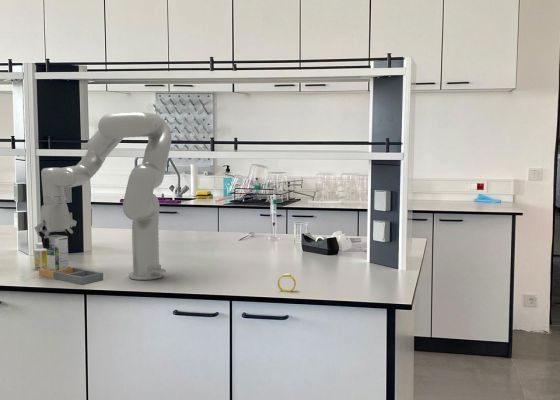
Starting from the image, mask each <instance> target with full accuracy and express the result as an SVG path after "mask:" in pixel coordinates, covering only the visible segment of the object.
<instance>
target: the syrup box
mask: <svg viewBox="0 0 560 400" xmlns="http://www.w3.org/2000/svg"><path fill="white" fill-rule="evenodd" d="M47 238H49V245H50V248H49V249H46V252H47V270H51V271H57V270H62V269H67V268H69V267H70V265H69V244H68V237H67V236H65V235H59V234H54V235H53V234H52V235H51V234H50V235H48V237H47Z"/></svg>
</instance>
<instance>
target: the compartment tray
mask: <svg viewBox="0 0 560 400" xmlns="http://www.w3.org/2000/svg"><path fill="white" fill-rule="evenodd" d="M38 275H39V276H40V277H45V278H50V279H54V280H58V281H59V280H60V281H63V282H68V283H71V284H76V285H86V284H87V285H88V284H91V283H96V282H99V281H103V280H104V273H103V272H100V271H94V270H90V269H85V268H79V267H75V266H69V268H67V269H62V270H57V271H51V270H47V267H45V268H40V269H39V270H38Z"/></svg>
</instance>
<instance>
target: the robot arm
mask: <svg viewBox="0 0 560 400" xmlns="http://www.w3.org/2000/svg"><path fill="white" fill-rule="evenodd" d="M97 124H98V125H97V129H98V130H97V131H96V132H94V134H93V135H92V136H91V137H90V138H89V140H88V141H87V142H86V145H87V151H86V153H85V155H84V156H83V158H82V159H81V160H80V161H79V162H78V163H77V164H76V165H72V166H66V167H44V168H42V169H41V172H40V173H41V174H40V175H41V186H42V187H41V189H42V198H43V205H41V207H40V222H39V224H37V225H36V226H34V231H35V232H36V235H37V236H39V238H41V242H42V245H43V248H44V249H49V248H50V245H49V238H47V237H48V236H50V235H51V233H55V232H61V231H64V232H65V234H64V236H67V237H68V245H73V233H74V231H75V230H76V226H77V223H78V222H77V220H74V219H72V218H70V217H71V216H70V211H69V207H68V204H67V202H66V201H67V200H68V197H67V196H66V194H65V188H74V187H79V186H82V185H85V184H86V183H87V182H90V180H91V178H93V176H95V175H96V173H98V172H99V169H100V168H101V167H102V166H103V163H104V162H105V161H106V159H107V157H108V156H109V155H110V154H111V152H112V151H114V149H115V148H116V147H117V146H118V145H119V143H121V141H123V139H124V138H145V137H146V138H148V141H147V144H146V146H145V149H144V155H143V157H142V162H141V164H138V165H136V166H135V167H134V168H133V169H132V170H131V172H130V174H129V176H128V180H127V184H126V189H125V193H124V196H123V202H122V210H123V214H124V215H125V217H126V218H127V219H129V220H130V221H131V223H132V224H131V240H132V241H131V243H132V244H131V245H132V272H129V273H128V278H129V279H131V280H137V281H148V280H157V279H161V278H162V277H164V275H165V274H164V273H166V269H165V268H162V264H161V263H160V250H159V249H160V245H159V243H160V242H159V239H160V237H159V235H160V233H159V231H160V230H159V222H160V221H159V219H160V218H159V217H160V201H159V199H158V197H157V195H156V194H154V190H155V189H157V188H159V187H160V186H161V185H162V183H163V181H164V178H165V172H166V168H167V163H168V160H169V159H168V157H169V154H170V150H171V147H172V146H171V145H172V139H173V138H172V131H171V127H170V126H169V124H168V123H167V121H166V120H165V119H164V118H163V117H161V116H159V114H155V113H153V112H142V111H139V112H123V113H107V114H105V115H102V117H101V118H100V119H99V121H98V123H97Z"/></svg>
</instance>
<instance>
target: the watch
mask: <svg viewBox="0 0 560 400" xmlns="http://www.w3.org/2000/svg"><path fill="white" fill-rule="evenodd" d="M283 278H291V279H292V281H293V288H291V289H283V288H282V287H281V285H280V282H281V281H280V280H281V279H283ZM296 285H297V282H296V279H295V278H294V276H293V275H291V273H288V272H287V273H286V272H285V273H282V275H281V276H280V277H279V278H278V280H277V287H278V290H280V291H281V292H284V293H286V292H287V293H288V292H289V293H292V291H294V290H295V288H296Z"/></svg>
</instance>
